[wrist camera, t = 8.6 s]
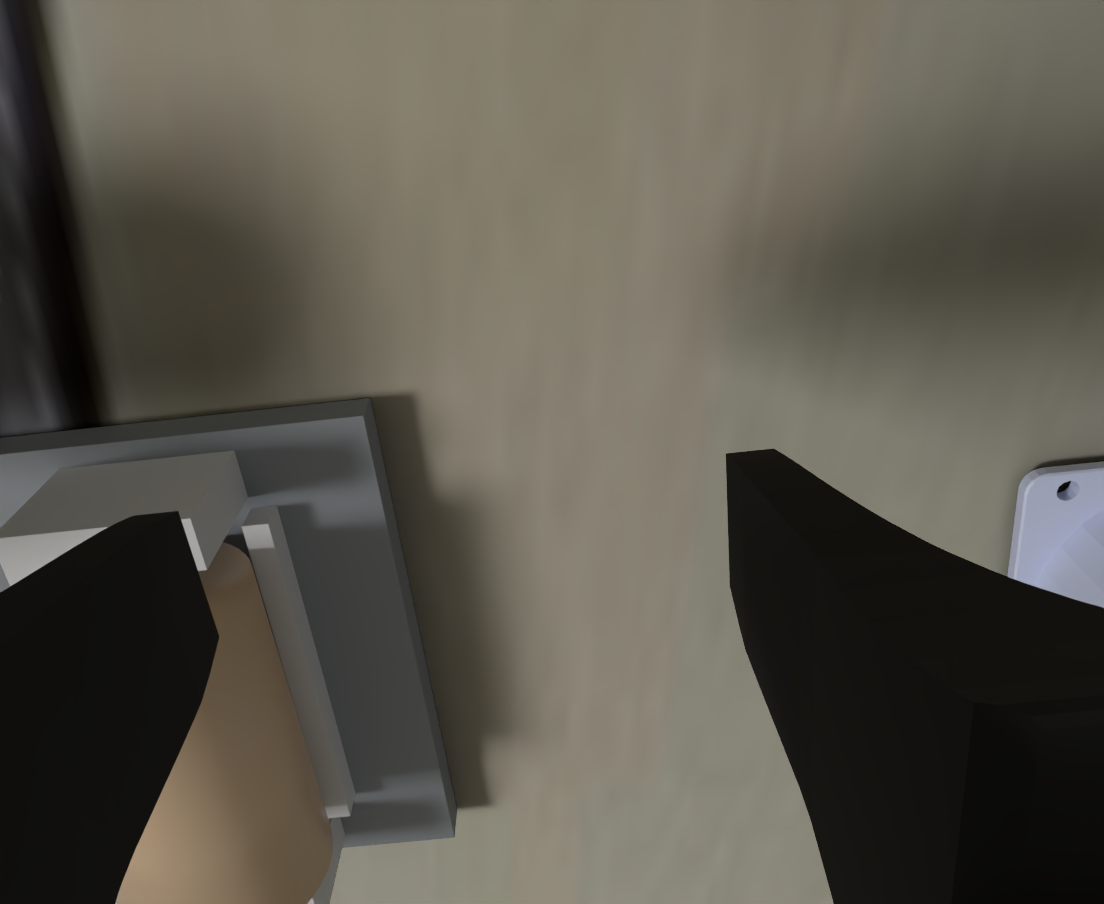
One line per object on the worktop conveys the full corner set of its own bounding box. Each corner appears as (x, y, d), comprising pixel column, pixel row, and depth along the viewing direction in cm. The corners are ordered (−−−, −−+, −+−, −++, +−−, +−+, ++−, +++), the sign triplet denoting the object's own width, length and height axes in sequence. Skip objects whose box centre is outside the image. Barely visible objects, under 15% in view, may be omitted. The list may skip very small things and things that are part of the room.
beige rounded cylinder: (288, 535, 22) (185, 681, 17) (359, 791, 25) (289, 967, 21) (90, 541, 22) (-56, 682, 18) (185, 788, 26) (82, 957, 22)
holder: (370, 397, 22) (337, 479, 18) (457, 809, 27) (445, 933, 24) (-55, 443, 22) (-171, 533, 18) (118, 841, 28) (56, 967, 24)
